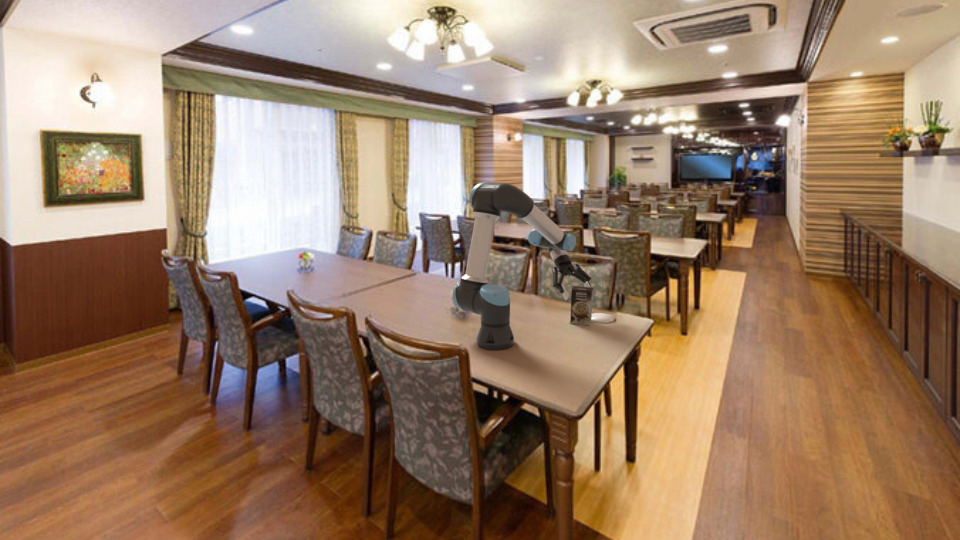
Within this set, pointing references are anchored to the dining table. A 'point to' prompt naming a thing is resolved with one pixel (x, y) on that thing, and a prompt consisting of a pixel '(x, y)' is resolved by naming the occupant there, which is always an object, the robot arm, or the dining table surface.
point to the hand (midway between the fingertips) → (579, 296)
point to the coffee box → (581, 305)
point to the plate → (602, 318)
